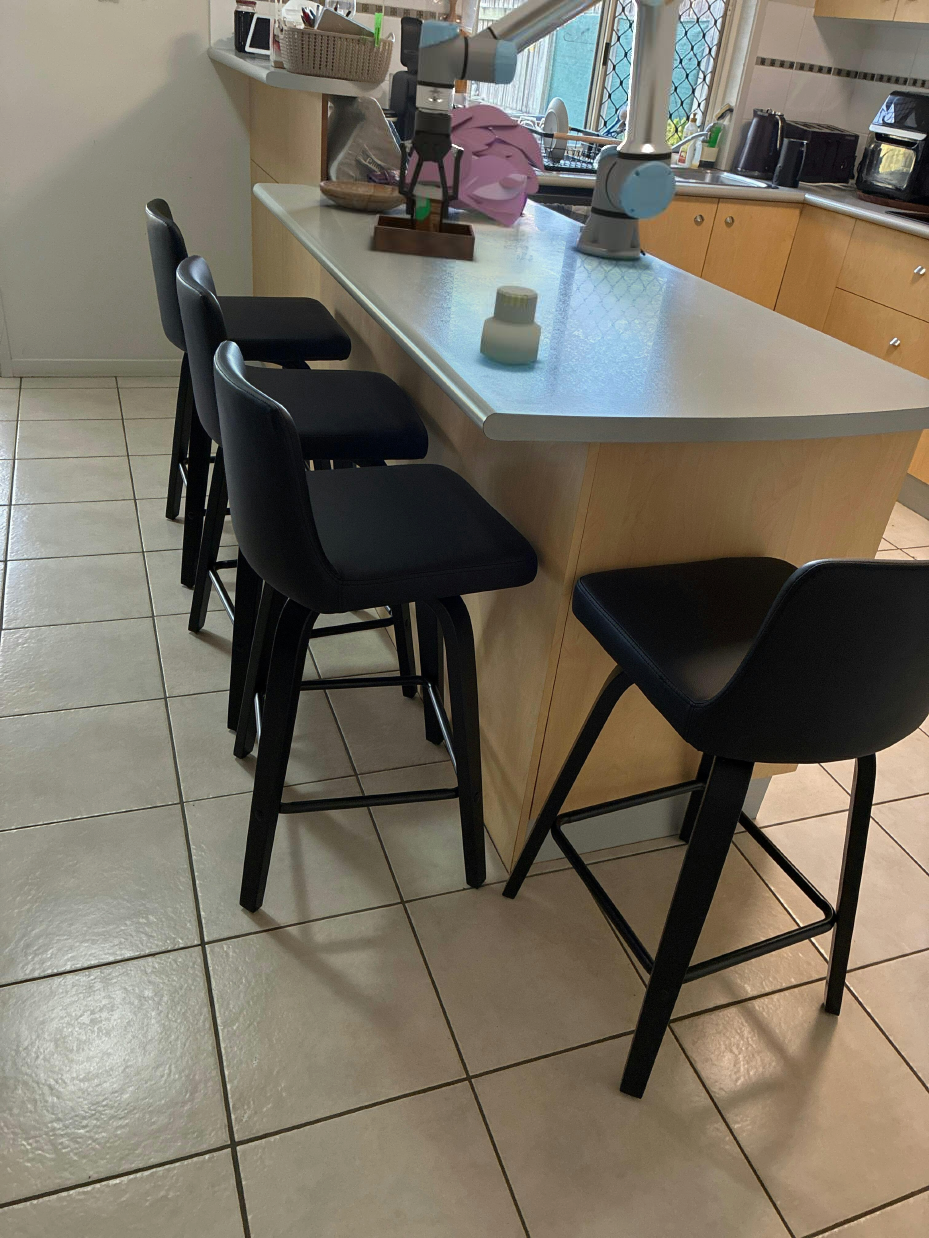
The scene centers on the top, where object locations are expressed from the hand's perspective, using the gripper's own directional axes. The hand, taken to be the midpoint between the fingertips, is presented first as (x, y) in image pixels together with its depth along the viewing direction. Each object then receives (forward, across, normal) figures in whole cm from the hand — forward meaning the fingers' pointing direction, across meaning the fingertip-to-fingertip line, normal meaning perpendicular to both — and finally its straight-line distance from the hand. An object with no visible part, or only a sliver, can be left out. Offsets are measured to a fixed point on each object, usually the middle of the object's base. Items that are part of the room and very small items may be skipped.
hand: (425, 232), depth 198 cm
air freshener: (+4, +12, -78) cm, 79 cm away
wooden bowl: (+3, -15, +48) cm, 50 cm away
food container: (+1, 0, 0) cm, 1 cm away
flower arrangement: (+4, +14, +52) cm, 53 cm away
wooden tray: (+3, 0, 0) cm, 3 cm away
